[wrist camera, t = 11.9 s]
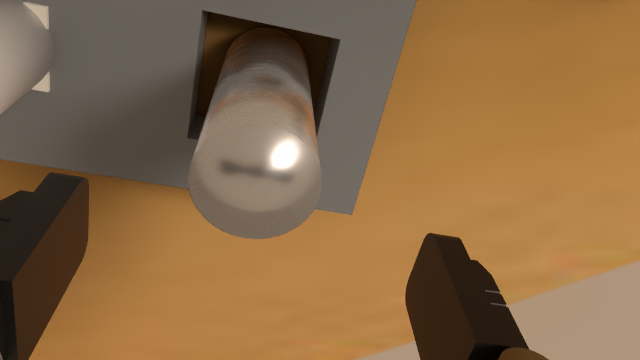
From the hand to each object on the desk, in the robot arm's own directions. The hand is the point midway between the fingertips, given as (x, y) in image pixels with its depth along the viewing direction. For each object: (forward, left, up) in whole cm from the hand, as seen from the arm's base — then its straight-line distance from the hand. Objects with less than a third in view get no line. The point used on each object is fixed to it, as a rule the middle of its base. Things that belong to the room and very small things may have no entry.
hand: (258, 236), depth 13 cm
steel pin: (0, 0, -12) cm, 12 cm away
